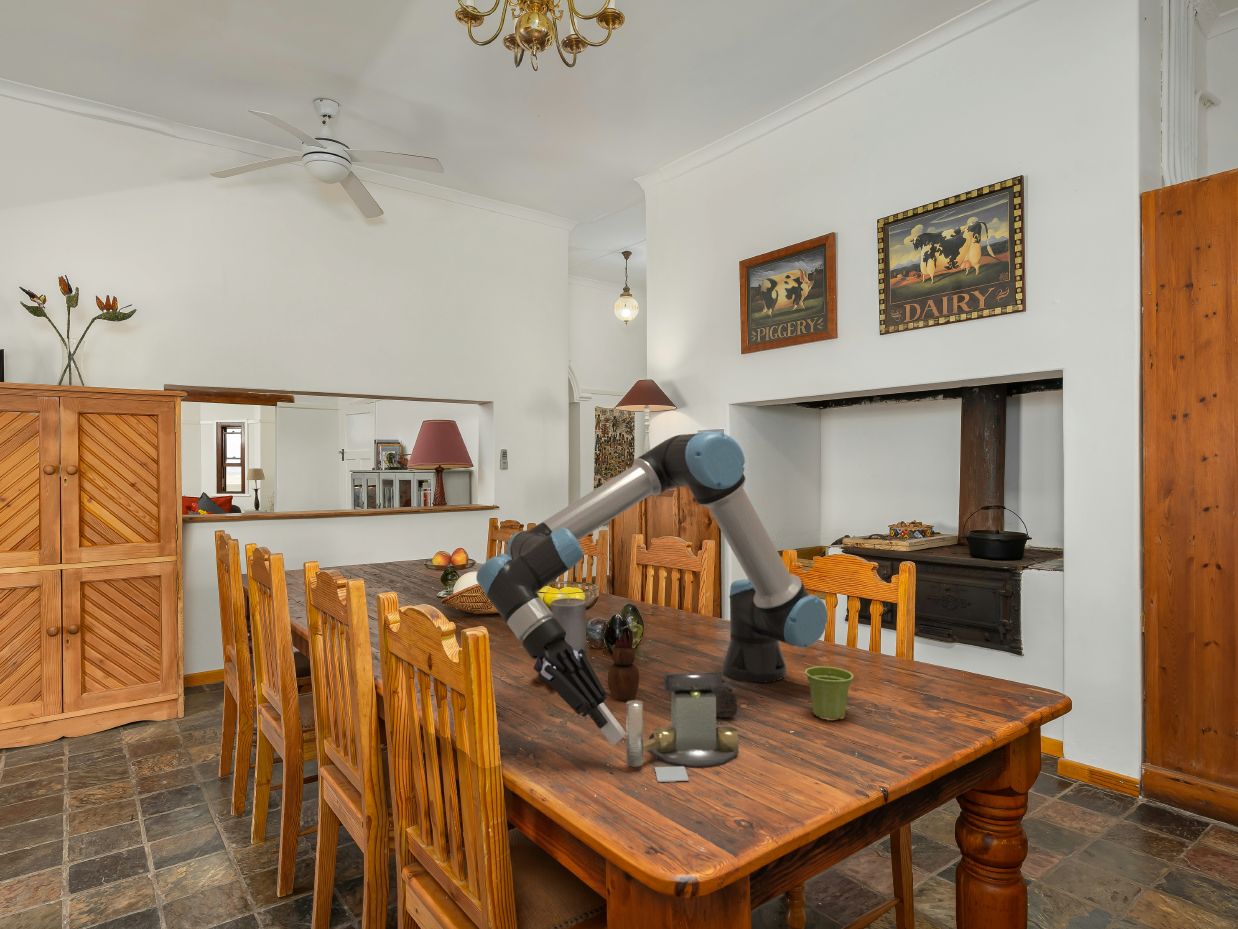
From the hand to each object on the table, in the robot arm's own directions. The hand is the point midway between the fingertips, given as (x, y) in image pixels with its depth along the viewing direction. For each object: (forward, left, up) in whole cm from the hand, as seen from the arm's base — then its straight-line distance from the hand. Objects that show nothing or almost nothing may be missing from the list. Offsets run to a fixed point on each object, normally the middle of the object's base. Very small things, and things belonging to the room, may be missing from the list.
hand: (619, 739), depth 114 cm
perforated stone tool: (-22, -26, -5) cm, 34 cm away
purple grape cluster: (+12, -48, -5) cm, 49 cm away
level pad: (-8, +4, -4) cm, 10 cm away
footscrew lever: (-5, -1, -3) cm, 7 cm away
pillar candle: (+10, -73, -5) cm, 74 cm away
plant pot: (-44, -21, -5) cm, 49 cm away
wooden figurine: (-3, -34, -5) cm, 34 cm away
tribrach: (-14, -7, -4) cm, 16 cm away
